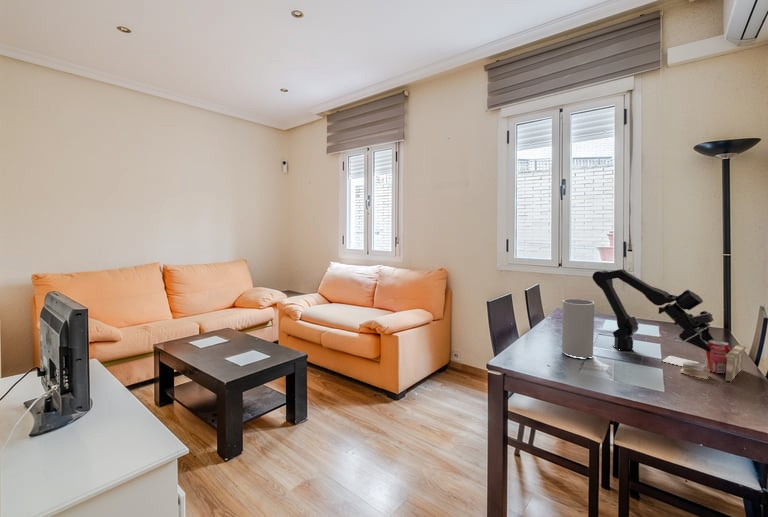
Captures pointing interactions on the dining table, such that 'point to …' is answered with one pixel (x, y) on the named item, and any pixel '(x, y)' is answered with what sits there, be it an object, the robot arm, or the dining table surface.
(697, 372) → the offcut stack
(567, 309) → the cylinder vase
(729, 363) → the rack board
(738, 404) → the dining table surface
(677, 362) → the white mat
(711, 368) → the soda can
